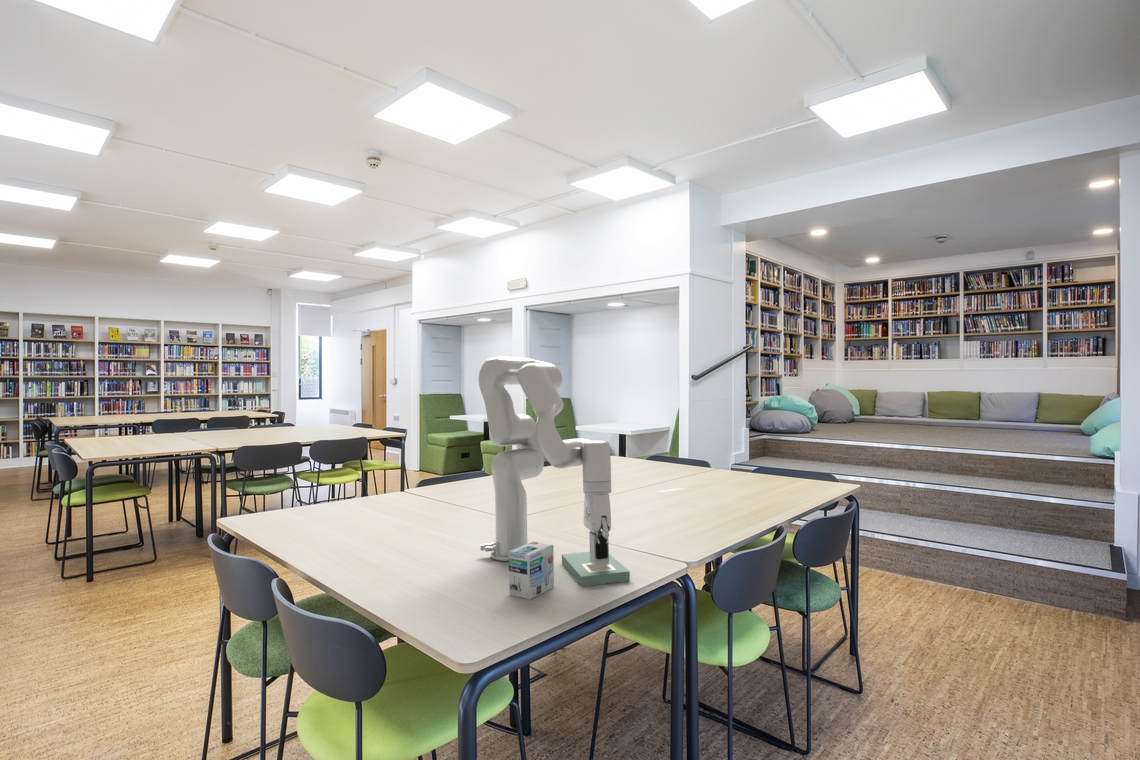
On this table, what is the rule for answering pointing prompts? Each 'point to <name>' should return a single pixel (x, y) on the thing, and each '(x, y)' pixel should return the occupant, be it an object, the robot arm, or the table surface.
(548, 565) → the light bulb box
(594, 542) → the plug
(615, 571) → the board
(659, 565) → the table surface
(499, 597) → the table surface
